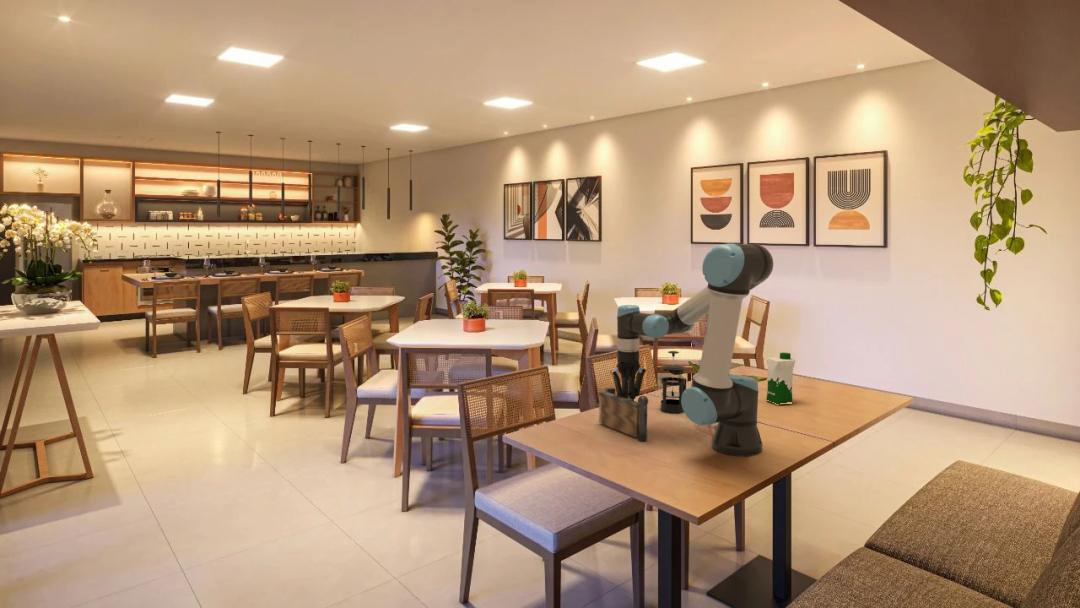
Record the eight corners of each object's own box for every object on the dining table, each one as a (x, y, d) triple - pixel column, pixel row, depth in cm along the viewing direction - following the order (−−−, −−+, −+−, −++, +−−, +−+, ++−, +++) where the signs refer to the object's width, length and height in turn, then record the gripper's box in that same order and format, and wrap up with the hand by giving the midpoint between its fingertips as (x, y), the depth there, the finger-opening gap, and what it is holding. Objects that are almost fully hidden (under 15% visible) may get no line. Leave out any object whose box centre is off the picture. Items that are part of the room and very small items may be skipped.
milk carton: (796, 404, 246) (797, 355, 244) (776, 406, 243) (778, 356, 241) (781, 399, 254) (782, 351, 252) (762, 401, 252) (764, 352, 250)
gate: (641, 436, 206) (641, 403, 205) (635, 437, 204) (636, 404, 203) (604, 421, 223) (604, 391, 221) (598, 422, 221) (598, 392, 220)
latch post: (615, 420, 226) (615, 388, 224) (607, 421, 225) (607, 389, 223) (612, 419, 227) (612, 387, 226) (605, 420, 226) (605, 388, 225)
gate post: (649, 441, 202) (650, 396, 201) (640, 442, 201) (641, 397, 200) (644, 438, 206) (645, 394, 204) (635, 439, 205) (635, 395, 203)
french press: (671, 415, 232) (672, 354, 230) (653, 409, 240) (654, 351, 238) (693, 410, 239) (694, 351, 236) (675, 405, 247) (676, 347, 244)
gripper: (639, 346, 220) (639, 411, 223) (606, 349, 216) (606, 415, 218) (650, 350, 213) (649, 417, 216) (616, 353, 209) (616, 421, 211)
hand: (628, 416), depth 217 cm, fingers closed
